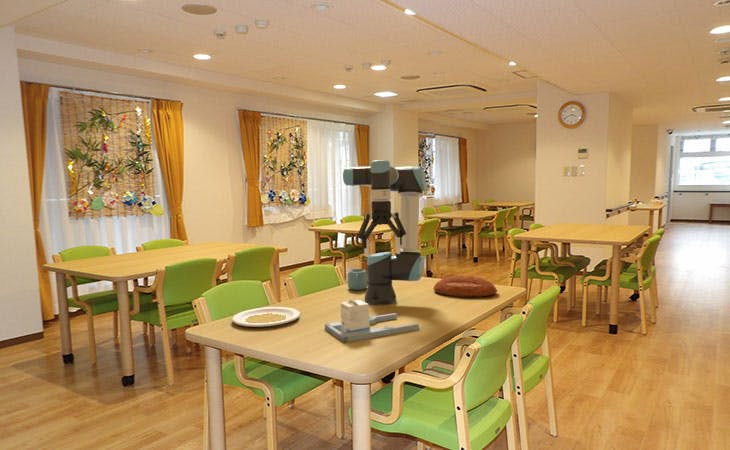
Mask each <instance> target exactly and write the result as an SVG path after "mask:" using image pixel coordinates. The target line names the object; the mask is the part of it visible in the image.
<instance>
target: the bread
mask: <svg viewBox="0 0 730 450" xmlns="http://www.w3.org/2000/svg"><path fill="white" fill-rule="evenodd" d="M433 290H434V292H436V293H439V294H441V295H446V296H452V297H458V298H459V297H460V298H479V297H480V298H481V297H488V296H489V297H490V296H492V295H495V294H497V293H498V290H497V288H496V287H495V285H494V284H493V283H492V282H490V280H487V279H484V278H482V277H476V276H472V275H456V276H453V275H452V276H447V277H444V278H441V279H440V280H439V281H437V282H436V283H435V284H434V286H433Z"/></svg>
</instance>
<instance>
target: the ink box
mask: <svg viewBox="0 0 730 450" xmlns="http://www.w3.org/2000/svg"><path fill="white" fill-rule="evenodd" d="M346 299H347V300H348V301H344V302H340V316H341V317H340V319H341V321H340V322H341V325H342V330H341V333H343V334H345V333H350V332H356V331H362V330H368V329H371V328H370V326H371V325H369V317H370V309H369V305H370V304H368V303H365V301H363V300H361V299H356V300H353V299H351V298H348V297H346Z"/></svg>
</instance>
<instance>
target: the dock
mask: <svg viewBox="0 0 730 450" xmlns="http://www.w3.org/2000/svg"><path fill="white" fill-rule="evenodd" d="M397 317H398V316H397V313H395V312H394V313H388V314H381V315H375V316H369V325H370V326H373V325H375V324H376V323H377V322H383V321H384V322H385V321H391V320H396V319H397ZM324 330H325V331H327V332H328V333H330V334H331V335H332V336H334V337H335V338H336V339H338V340H340V341H341V342H342V343H344V344H346V343H350V342H354V341H355V342H356V341H362V340H366V339H374V338H377V337H378V338H379V337H383V336H384V337H385V336H389V335H395V334H399V333H400V334H401V333H406V332H412V331H417V330H420V325H419V323H411V324H410V323H409V324H403V325H400V326H399V325H398V326H382V327H375V328H374V327H373V328H370V329H368V330H362V331H356V332H350V333H343V332H342V325H341V321H337V322H332V323H331V322H330V323H324Z"/></svg>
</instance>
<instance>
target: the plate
mask: <svg viewBox="0 0 730 450" xmlns="http://www.w3.org/2000/svg"><path fill="white" fill-rule="evenodd" d="M267 313H269V314H270V313H272V314H279V315H280V314H281V315H284V316H285V315H286V319H285V320H281V321H276V322H269V323H248V322H245V321H246V320H245V319H247V318H248V317H250V316H254V315H262V314H267ZM300 316H301V312H300V311H299V310H297V309H296V308H292V307H286V306H285V307H284V306H265V307H258V308H252V309H248V310H243V311H240V312H238V313H236V314H234V316H233V317H232V322H233V323H234V324H236V325H239V326H244V327H253V328H254V327H256V328H257V327H271V326H278V325H283V324H286V323H290V322H294V321H295V320H297V319H298V318H299V317H300Z"/></svg>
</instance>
